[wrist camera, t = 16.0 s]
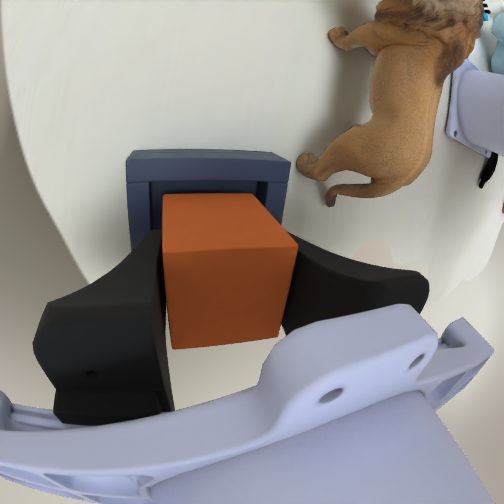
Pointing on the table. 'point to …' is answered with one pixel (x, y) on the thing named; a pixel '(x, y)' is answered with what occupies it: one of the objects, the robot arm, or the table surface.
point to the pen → (488, 169)
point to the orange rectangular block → (224, 269)
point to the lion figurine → (398, 92)
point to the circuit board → (485, 12)
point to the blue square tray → (199, 181)
